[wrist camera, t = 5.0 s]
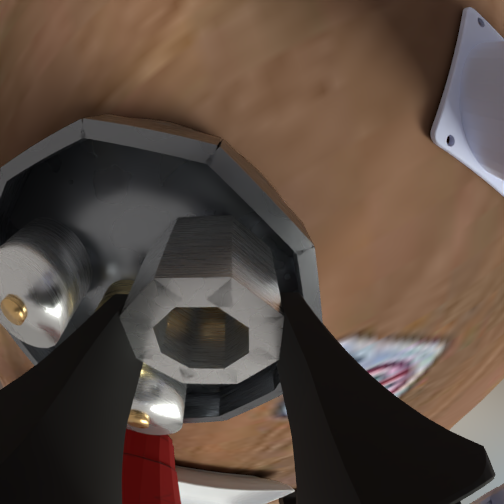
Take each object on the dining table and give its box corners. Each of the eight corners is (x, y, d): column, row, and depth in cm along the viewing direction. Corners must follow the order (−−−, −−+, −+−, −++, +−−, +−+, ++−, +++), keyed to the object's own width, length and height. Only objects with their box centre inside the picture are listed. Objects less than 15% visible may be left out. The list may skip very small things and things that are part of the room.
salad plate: (119, 477, 33) (116, 494, 30) (120, 442, 24) (115, 468, 21) (237, 497, 38) (238, 513, 35) (295, 468, 28) (298, 490, 25)
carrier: (363, 182, 11) (426, 234, 7) (248, 403, 18) (251, 463, 14) (14, 102, 8) (-63, 120, 4) (34, 345, 15) (8, 396, 11)
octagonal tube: (271, 214, 10) (288, 275, 7) (267, 313, 12) (276, 382, 9) (141, 218, 9) (105, 278, 6) (162, 314, 12) (146, 381, 9)
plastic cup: (184, 462, 25) (180, 553, 15) (90, 434, 23) (71, 527, 12) (219, 431, 21) (219, 560, 10) (92, 393, 18) (58, 526, 8)
